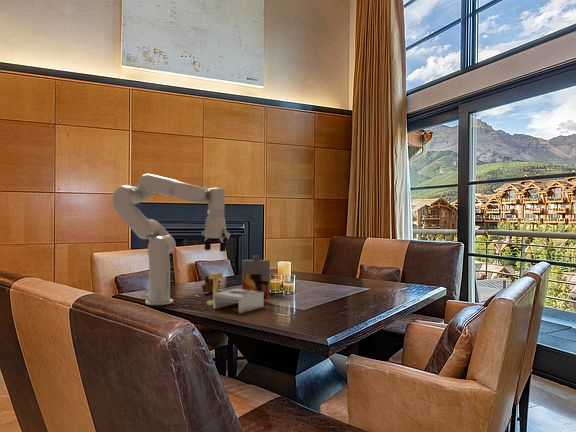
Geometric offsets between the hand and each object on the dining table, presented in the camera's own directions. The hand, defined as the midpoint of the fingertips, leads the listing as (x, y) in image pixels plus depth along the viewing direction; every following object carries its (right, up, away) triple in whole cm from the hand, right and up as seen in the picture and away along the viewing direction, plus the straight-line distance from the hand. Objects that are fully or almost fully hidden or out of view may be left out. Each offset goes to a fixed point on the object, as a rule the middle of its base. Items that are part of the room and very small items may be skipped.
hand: (215, 250), depth 196 cm
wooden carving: (-7, -25, +30) cm, 40 cm away
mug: (+19, -26, +11) cm, 33 cm away
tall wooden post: (0, -25, 0) cm, 25 cm away
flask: (+17, -26, +30) cm, 43 cm away
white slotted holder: (+12, -25, -8) cm, 29 cm away
